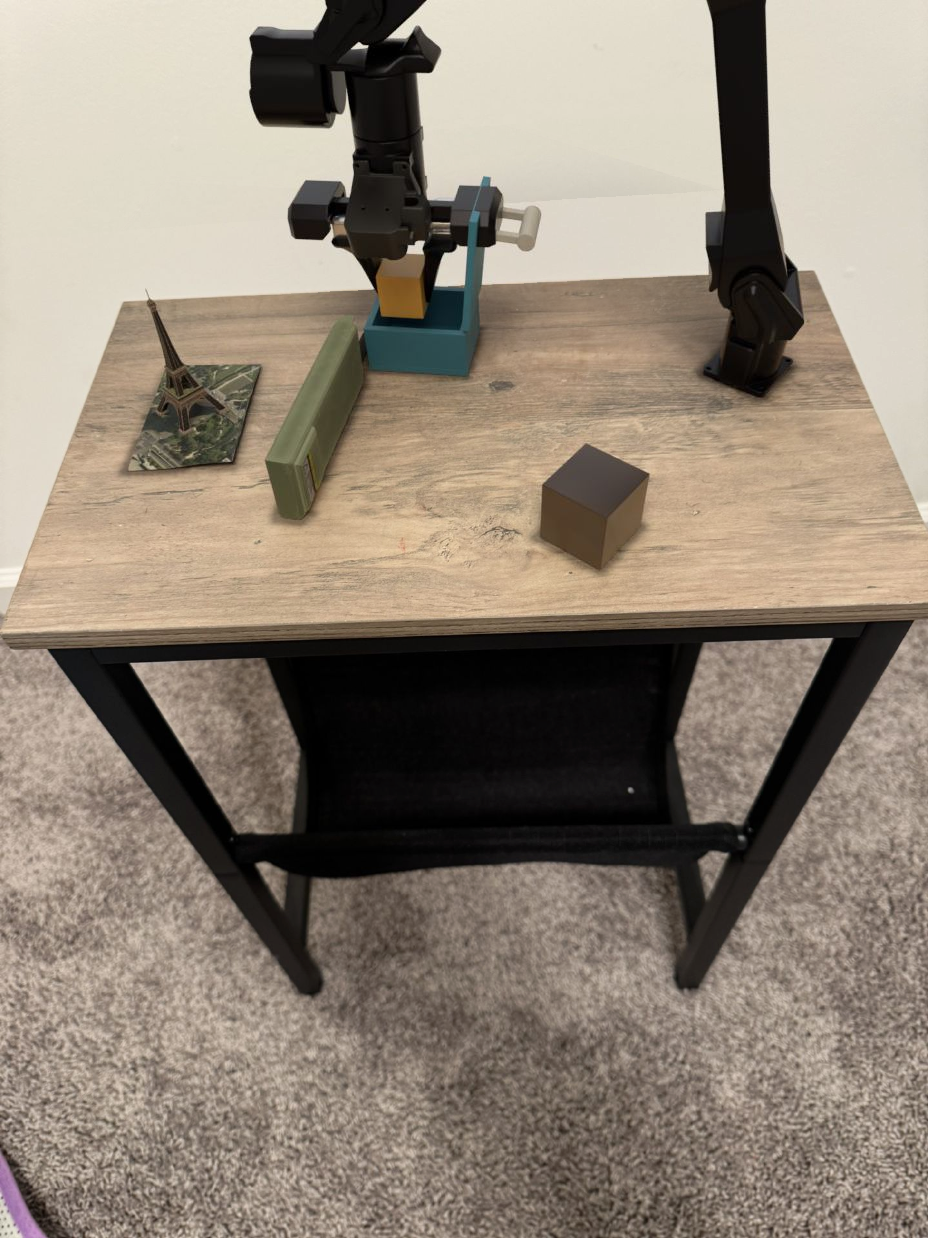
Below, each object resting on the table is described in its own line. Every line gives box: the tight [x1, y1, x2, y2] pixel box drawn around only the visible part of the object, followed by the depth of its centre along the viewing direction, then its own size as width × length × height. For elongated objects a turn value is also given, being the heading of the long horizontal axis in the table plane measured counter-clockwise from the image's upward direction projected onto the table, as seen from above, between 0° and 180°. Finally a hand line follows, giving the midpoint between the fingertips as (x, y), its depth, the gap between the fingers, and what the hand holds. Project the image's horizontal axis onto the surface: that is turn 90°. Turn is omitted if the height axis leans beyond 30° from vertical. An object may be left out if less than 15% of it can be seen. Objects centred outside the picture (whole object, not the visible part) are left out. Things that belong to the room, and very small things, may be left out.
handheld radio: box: [264, 314, 368, 521], centre depth 76 cm, size 7×3×25 cm
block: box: [376, 253, 428, 319], centre depth 80 cm, size 4×4×4 cm
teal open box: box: [363, 285, 481, 377], centre depth 83 cm, size 10×8×5 cm
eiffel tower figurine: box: [126, 288, 262, 472], centre depth 75 cm, size 15×10×13 cm
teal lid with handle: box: [462, 175, 542, 332], centre depth 76 cm, size 11×8×6 cm
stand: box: [539, 442, 651, 571], centre depth 66 cm, size 6×6×6 cm
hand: (406, 299), depth 81 cm, fingers closed on block, 4 cm apart
